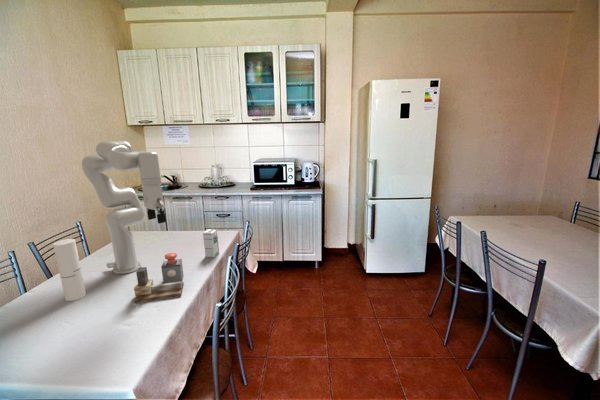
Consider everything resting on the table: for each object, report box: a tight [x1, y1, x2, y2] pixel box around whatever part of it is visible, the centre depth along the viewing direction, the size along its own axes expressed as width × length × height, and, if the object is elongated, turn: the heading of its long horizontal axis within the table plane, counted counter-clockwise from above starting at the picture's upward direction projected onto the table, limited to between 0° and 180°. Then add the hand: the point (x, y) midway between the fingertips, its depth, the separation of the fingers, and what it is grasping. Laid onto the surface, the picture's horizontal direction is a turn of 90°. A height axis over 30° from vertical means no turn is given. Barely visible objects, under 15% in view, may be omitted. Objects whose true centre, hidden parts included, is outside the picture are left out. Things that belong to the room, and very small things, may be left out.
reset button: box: [164, 252, 178, 265], centre depth 137 cm, size 5×5×6 cm
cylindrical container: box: [52, 238, 87, 302], centre depth 124 cm, size 7×7×25 cm
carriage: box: [133, 266, 154, 297], centre depth 125 cm, size 6×6×10 cm
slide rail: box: [133, 281, 185, 304], centre depth 127 cm, size 18×10×4 cm, turn 105°
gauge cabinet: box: [160, 258, 185, 284], centre depth 138 cm, size 8×6×9 cm
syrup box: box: [202, 228, 220, 258], centre depth 165 cm, size 6×6×14 cm
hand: (157, 220), depth 127 cm, fingers open, 9 cm apart
